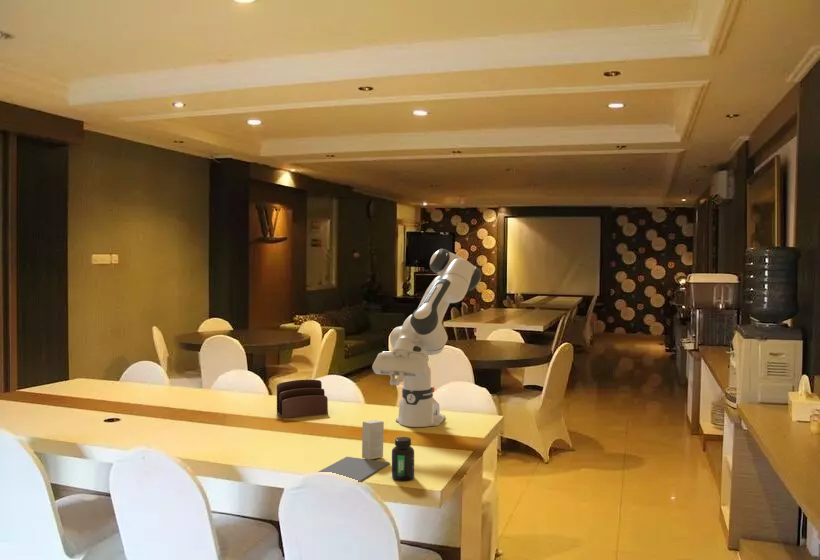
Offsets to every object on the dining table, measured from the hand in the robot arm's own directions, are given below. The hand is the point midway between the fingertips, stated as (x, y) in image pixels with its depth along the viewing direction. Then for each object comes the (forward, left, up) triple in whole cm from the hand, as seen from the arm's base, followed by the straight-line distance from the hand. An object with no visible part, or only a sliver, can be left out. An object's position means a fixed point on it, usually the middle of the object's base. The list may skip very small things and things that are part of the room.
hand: (393, 384), depth 245 cm
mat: (+28, -1, -22) cm, 36 cm away
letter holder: (-30, -58, -23) cm, 70 cm away
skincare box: (+15, -1, -22) cm, 27 cm away
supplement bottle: (+29, +17, -23) cm, 41 cm away
